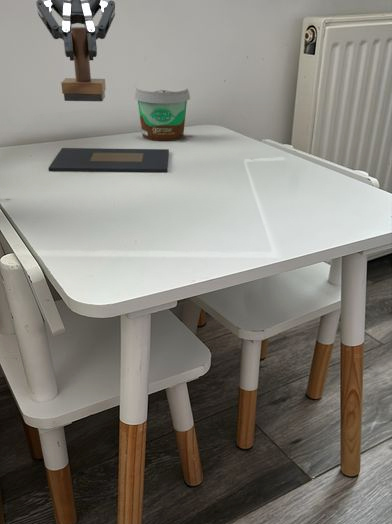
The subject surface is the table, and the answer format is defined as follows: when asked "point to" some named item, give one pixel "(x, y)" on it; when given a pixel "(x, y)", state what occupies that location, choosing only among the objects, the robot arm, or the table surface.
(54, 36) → the robot arm
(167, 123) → the food container
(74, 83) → the brush
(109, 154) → the mat
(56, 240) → the table surface
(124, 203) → the table surface
